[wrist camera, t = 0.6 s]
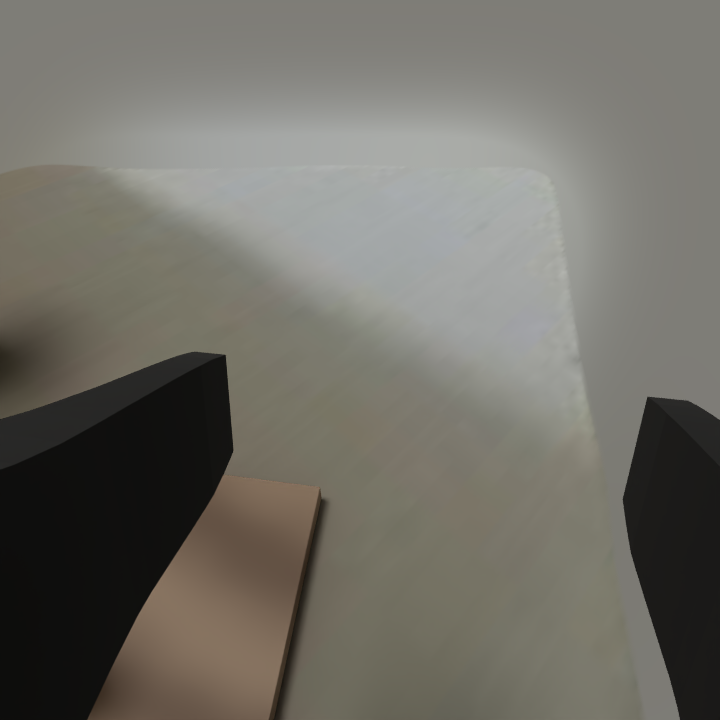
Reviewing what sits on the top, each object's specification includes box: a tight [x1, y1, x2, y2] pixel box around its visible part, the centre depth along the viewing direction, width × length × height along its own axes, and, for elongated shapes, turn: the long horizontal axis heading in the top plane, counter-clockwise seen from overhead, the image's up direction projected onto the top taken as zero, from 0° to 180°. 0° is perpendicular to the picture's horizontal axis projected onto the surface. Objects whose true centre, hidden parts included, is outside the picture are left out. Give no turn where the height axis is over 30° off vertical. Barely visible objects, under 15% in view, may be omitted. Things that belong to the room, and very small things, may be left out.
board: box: [87, 475, 321, 720], centre depth 21 cm, size 18×15×6 cm
